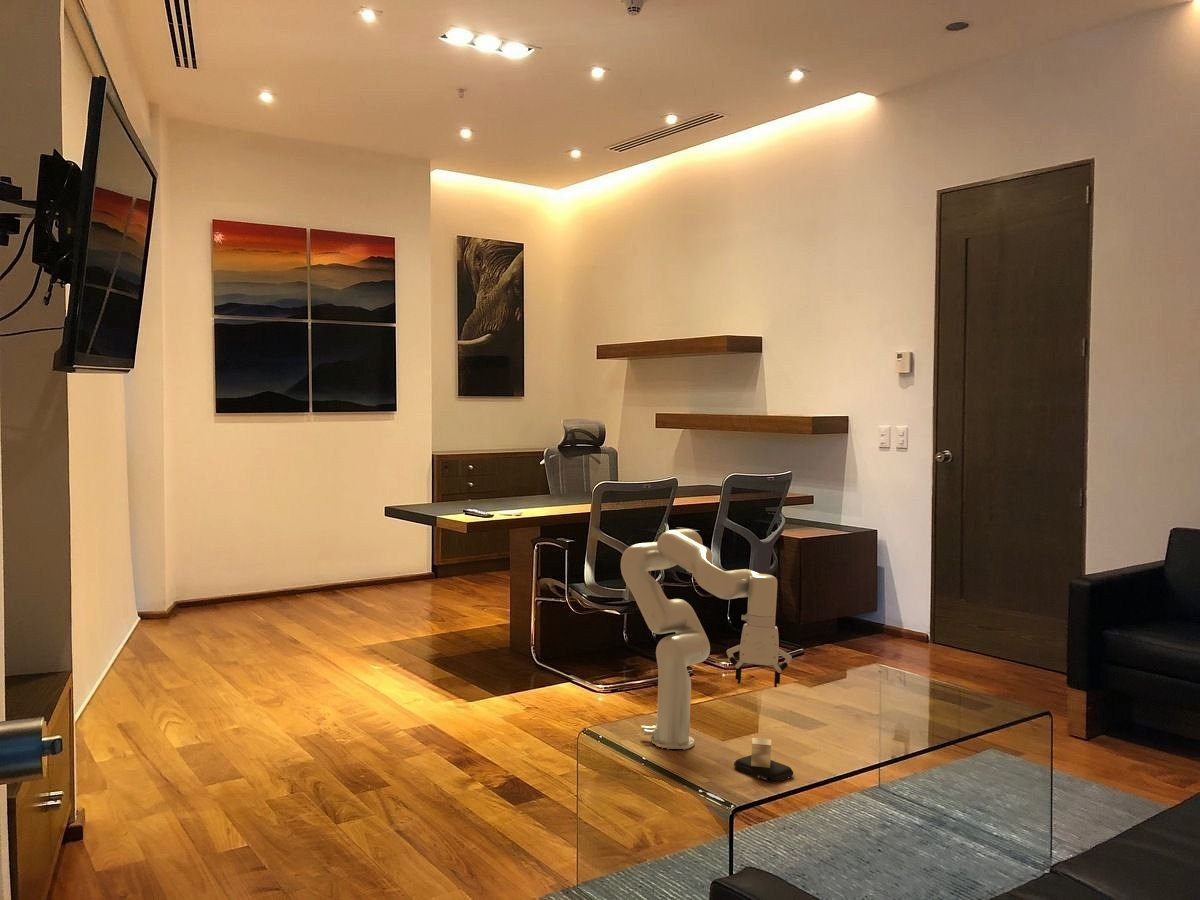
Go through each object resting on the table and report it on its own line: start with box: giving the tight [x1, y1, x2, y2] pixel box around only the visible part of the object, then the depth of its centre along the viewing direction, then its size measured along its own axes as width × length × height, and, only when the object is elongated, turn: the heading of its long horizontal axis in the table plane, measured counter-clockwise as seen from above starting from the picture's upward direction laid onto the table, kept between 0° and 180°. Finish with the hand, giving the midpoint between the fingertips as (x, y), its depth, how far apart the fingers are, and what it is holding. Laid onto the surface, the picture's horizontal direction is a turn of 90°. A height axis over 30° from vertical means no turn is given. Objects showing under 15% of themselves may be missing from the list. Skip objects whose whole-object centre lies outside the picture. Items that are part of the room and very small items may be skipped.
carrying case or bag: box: [733, 754, 794, 783], centre depth 252 cm, size 11×3×15 cm
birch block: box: [750, 737, 772, 768], centre depth 252 cm, size 5×5×6 cm
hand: (757, 684), depth 252 cm, fingers open, 9 cm apart
